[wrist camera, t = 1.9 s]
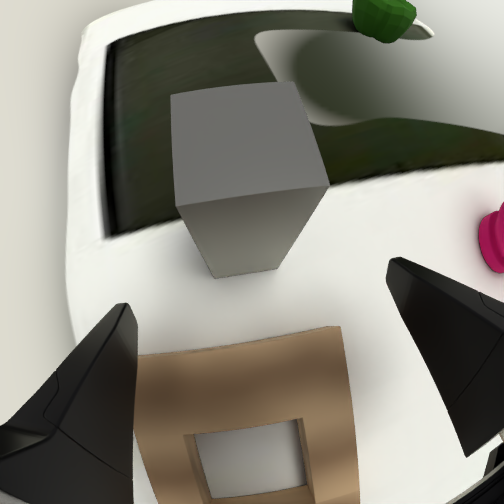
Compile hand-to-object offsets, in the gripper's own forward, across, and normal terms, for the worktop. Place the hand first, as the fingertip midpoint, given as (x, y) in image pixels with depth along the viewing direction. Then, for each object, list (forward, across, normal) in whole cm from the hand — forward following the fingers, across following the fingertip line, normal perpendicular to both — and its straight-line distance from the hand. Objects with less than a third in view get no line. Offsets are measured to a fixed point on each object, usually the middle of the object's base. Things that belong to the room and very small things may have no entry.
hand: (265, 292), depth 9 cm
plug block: (+11, 0, +5) cm, 12 cm away
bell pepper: (+31, -23, -15) cm, 42 cm away
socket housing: (0, +2, +16) cm, 16 cm away
